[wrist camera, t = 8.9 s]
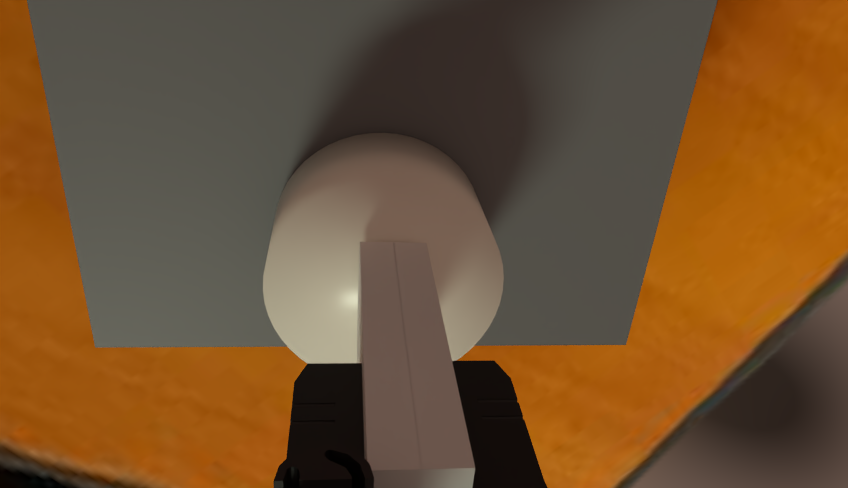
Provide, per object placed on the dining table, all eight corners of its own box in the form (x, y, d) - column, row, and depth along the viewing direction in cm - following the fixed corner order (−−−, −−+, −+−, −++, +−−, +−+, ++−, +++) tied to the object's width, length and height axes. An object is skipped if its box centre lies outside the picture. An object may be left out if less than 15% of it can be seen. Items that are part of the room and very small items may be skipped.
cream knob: (289, 237, 23) (267, 385, 17) (285, 78, 21) (257, 175, 14) (447, 240, 24) (489, 382, 17) (463, 86, 21) (519, 182, 15)
